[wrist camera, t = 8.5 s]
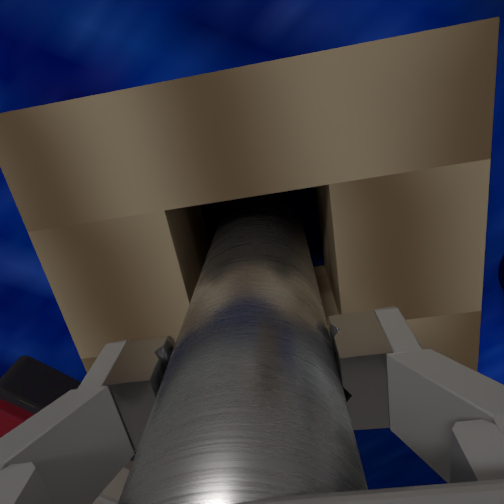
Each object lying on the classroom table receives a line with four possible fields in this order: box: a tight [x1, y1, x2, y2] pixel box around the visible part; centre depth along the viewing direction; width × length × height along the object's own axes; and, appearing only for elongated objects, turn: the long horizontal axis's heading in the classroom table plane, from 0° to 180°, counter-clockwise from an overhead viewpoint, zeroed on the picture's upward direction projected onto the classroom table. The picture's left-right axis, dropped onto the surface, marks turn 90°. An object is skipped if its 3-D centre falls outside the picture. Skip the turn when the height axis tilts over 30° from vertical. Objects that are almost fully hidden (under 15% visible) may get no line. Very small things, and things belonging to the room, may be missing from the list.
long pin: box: [118, 195, 368, 504], centre depth 10 cm, size 4×4×14 cm
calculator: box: [0, 356, 136, 504], centre depth 23 cm, size 11×4×15 cm
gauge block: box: [0, 17, 499, 373], centre depth 15 cm, size 14×12×5 cm
